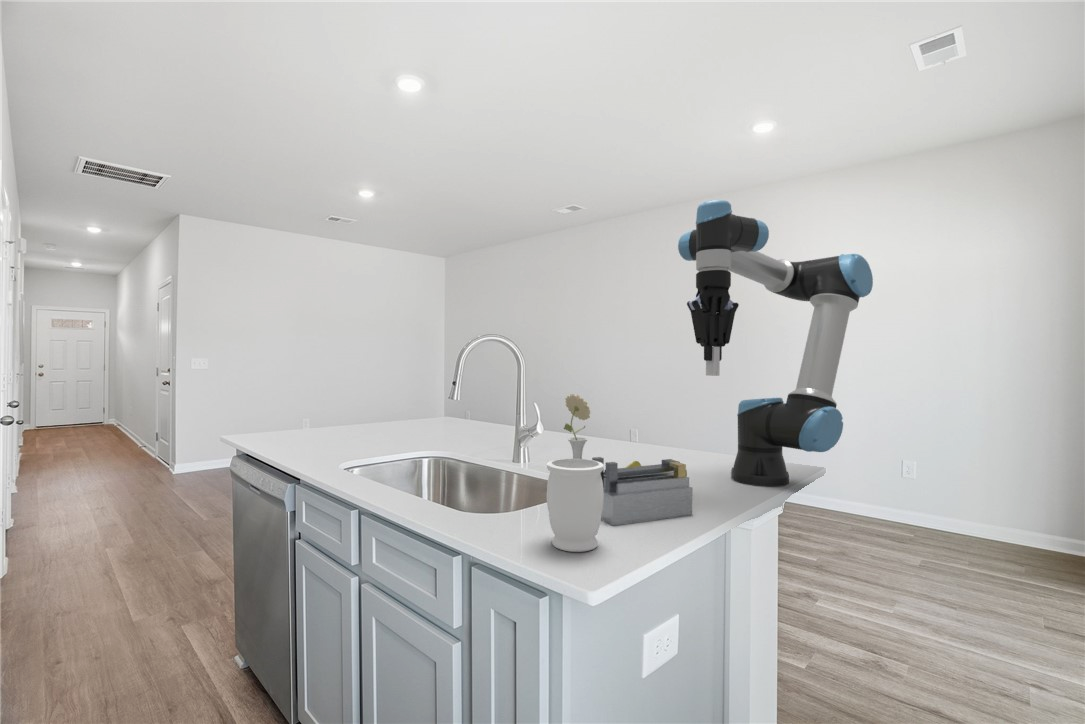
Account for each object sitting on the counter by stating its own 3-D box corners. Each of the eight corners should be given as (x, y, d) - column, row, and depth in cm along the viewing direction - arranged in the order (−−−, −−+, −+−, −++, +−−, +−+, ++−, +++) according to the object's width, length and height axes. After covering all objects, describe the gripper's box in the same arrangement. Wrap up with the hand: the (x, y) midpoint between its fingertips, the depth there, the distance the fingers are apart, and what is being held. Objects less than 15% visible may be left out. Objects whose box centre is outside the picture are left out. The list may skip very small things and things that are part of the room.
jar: (615, 548, 96) (615, 465, 96) (568, 559, 91) (569, 471, 91) (580, 531, 105) (580, 455, 105) (535, 541, 100) (535, 461, 100)
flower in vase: (607, 497, 132) (608, 395, 132) (564, 501, 128) (565, 396, 128) (586, 485, 144) (586, 392, 144) (546, 488, 140) (546, 393, 140)
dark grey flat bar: (612, 477, 115) (612, 468, 115) (604, 474, 118) (604, 465, 118) (679, 470, 122) (679, 461, 122) (670, 467, 125) (670, 459, 125)
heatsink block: (655, 499, 130) (655, 449, 130) (692, 515, 117) (692, 460, 117) (581, 507, 122) (581, 455, 122) (612, 525, 109) (612, 467, 109)
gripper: (724, 275, 127) (723, 374, 127) (679, 271, 122) (678, 375, 122) (747, 270, 120) (747, 375, 120) (700, 266, 115) (700, 376, 115)
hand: (712, 375), depth 121 cm, fingers closed
